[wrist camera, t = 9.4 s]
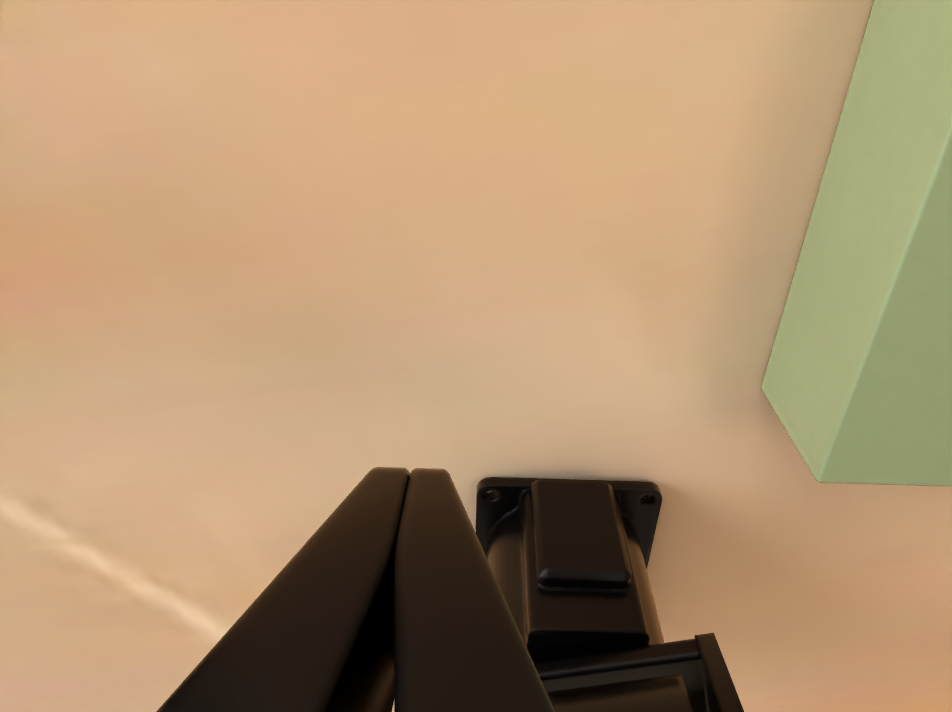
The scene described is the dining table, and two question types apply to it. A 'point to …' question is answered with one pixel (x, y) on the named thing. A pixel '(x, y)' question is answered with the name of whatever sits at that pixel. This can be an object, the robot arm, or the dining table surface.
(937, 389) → the stand
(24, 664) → the dining table surface
